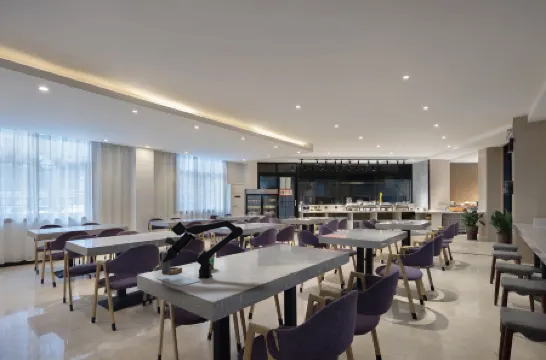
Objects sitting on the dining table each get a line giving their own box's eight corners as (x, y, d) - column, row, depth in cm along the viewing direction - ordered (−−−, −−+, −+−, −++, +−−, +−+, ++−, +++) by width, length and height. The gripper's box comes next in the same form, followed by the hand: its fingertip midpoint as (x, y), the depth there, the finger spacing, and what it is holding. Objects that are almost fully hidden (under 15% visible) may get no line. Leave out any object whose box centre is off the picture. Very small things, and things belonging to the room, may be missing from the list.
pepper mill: (169, 271, 184) (169, 250, 185) (170, 273, 180) (170, 251, 181) (161, 272, 182) (161, 250, 183) (162, 273, 178) (162, 251, 179)
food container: (211, 271, 201) (211, 255, 202) (202, 270, 202) (202, 255, 203) (218, 267, 213) (218, 252, 214) (209, 266, 214) (209, 252, 215)
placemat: (200, 281, 174) (200, 281, 174) (180, 286, 165) (180, 285, 165) (176, 275, 190) (177, 274, 190) (157, 278, 181) (157, 278, 181)
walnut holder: (181, 271, 200) (182, 267, 200) (175, 274, 192) (175, 270, 192) (169, 270, 201) (170, 267, 202) (162, 273, 193) (163, 269, 193)
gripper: (175, 230, 192) (156, 249, 190) (171, 233, 174) (150, 254, 171) (188, 243, 193) (169, 262, 191) (186, 247, 175) (165, 268, 172)
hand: (163, 261), depth 181 cm, fingers closed on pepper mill, 4 cm apart
